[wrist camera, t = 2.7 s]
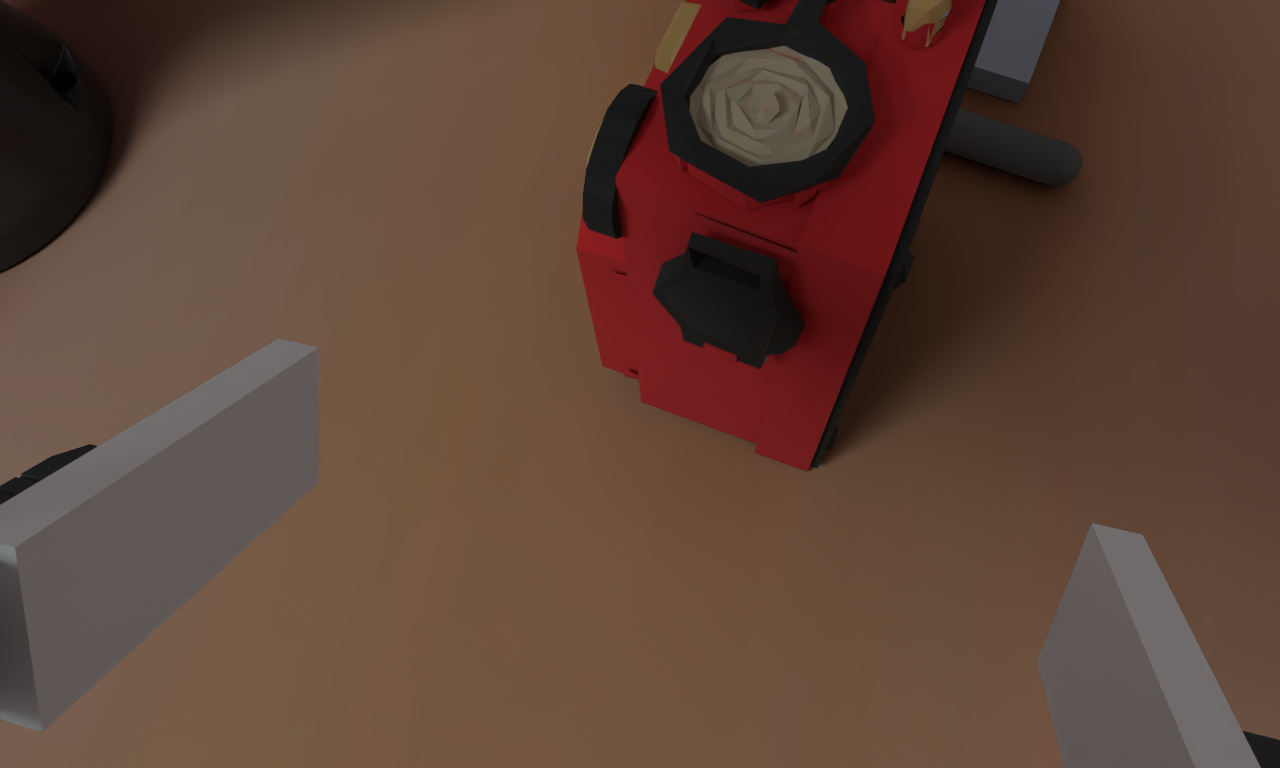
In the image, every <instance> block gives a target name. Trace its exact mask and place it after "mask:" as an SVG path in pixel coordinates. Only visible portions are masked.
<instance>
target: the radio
mask: <svg viewBox="0 0 1280 768" xmlns="http://www.w3.org/2000/svg"><path fill="white" fill-rule="evenodd" d="M997 2H998V0H687V1H686V2H681V4H680V6H679V8H678V10H677V12H676V14H675V16H674V17H673V19H672V21H671V23H670V25H669V27H668V29H667V31H666V33H665V35H664V37H663V39H662V41H661V43H660V45H659V47H658V48H657V50H656V52H655V65H654V67H653V69H652V71H651V73H650V75H649V77H648V79H647V81H646V83H645V85H644V87H643V86H640V85H634V84H629V85H628V86H626V87H625V88H624V89H622V90H621V91H620V92H619V93H618V95H617V96H616V98H615V99H614V100H613V102H612V103H611V105H610V106H609V108H608V109H607V111H606V114H605V116H604V118H603V119H602V121H601V123H600V126H599V128H598V131H597V133H596V136H595V138H594V141H593V143H592V146H591V148H590V151H589V153H588V156H587V168H586V176H585V184H584V191H583V212H582V218H581V224H580V230H579V235H578V241H577V247H576V250H577V254H578V259H579V263H580V267H581V272H582V276H583V281H584V285H585V290H586V294H587V299H588V303H589V308H590V312H591V317H592V321H593V325H594V330H595V334H596V339H597V343H598V348H599V352H600V357H601V361H602V366H604V367H607V368H610V369H613V370H616V371H618V372H621V373H624V374H625V376H626V377H631V378H635V379H639V383H640V392H641V400H642V402H643V403H646V404H648V405H651V406H654V407H657V408H659V409H662V410H665V411H668V412H670V413H673V414H676V415H679V416H681V417H684V418H687V419H690V420H693V421H695V422H698V423H701V424H704V425H706V426H709V427H712V428H715V429H717V430H720V431H723V432H726V433H728V434H731V435H734V436H737V437H740V438H742V439H745V440H748V441H751V442H753V443H756V444H757V445H756V450H755V453H757V454H760V455H763V456H766V457H768V458H771V459H774V460H777V461H780V462H782V463H785V464H788V465H791V466H794V467H796V468H799V469H802V470H805V471H808V470H809V467H810V466H813V467H816V468H818V466H819V463H820V461H821V459H822V456H823V454H824V452H825V451H827V450H829V449H832V447H833V445H834V442H835V439H836V436H837V433H838V429H837V427H836V423H837V421H838V419H839V416H840V414H841V412H842V409H843V407H844V404H845V402H846V400H847V397H848V395H849V393H850V390H851V388H852V386H853V383H854V381H855V378H856V376H857V374H858V371H859V369H860V367H861V364H862V362H863V360H864V357H865V355H866V353H867V350H868V348H869V345H870V343H871V341H872V338H873V336H874V334H875V331H876V329H877V327H878V324H879V322H880V319H881V317H882V315H883V312H884V310H885V308H886V305H887V303H888V301H889V298H890V296H891V294H892V291H893V290H894V289H895V288H897V287H898V286H900V285H901V284H902V283H904V282H905V281H906V278H907V275H908V272H909V270H910V267H911V264H912V261H913V258H914V256H913V254H912V253H911V252H910V251H909V247H910V244H911V241H912V238H913V235H914V233H915V230H916V227H917V224H918V222H919V219H920V216H921V213H922V210H923V208H924V205H925V202H926V199H927V197H928V194H929V191H930V188H931V185H932V183H933V180H934V177H935V174H936V172H937V169H938V166H939V163H940V160H941V158H942V155H943V152H944V149H945V146H946V144H947V141H948V138H949V135H950V133H951V130H952V127H953V124H954V121H955V119H956V116H957V113H958V110H959V108H960V105H961V102H962V99H963V96H964V94H965V91H966V88H967V85H968V82H969V80H970V77H971V74H972V71H973V69H974V66H975V63H976V60H977V57H978V55H979V52H980V49H981V46H982V44H983V41H984V38H985V35H986V32H987V30H988V27H989V24H990V21H991V18H992V16H993V13H994V10H995V7H996V5H997Z"/></svg>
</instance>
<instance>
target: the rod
mask: <svg viewBox="0 0 1280 768" xmlns="http://www.w3.org/2000/svg"><path fill="white" fill-rule="evenodd" d="M944 151H946V152H949V153H952V154H955V155H958V156H961V157H964V158H967V159H970V160H973V161H976V162H979V163H983V164H986V165H989V166H992V167H995V168H998V169H1001V170H1004V171H1007V172H1010V173H1013V174H1016V175H1019V176H1022V177H1025V178H1028V179H1031V180H1034V181H1037V182H1041V183H1044V184H1047V185H1050V186H1062V185H1065V184H1067V183H1069V182H1071V181H1072V180H1073V179H1075V177H1076V176H1077V175H1078V173H1079V172H1080V169H1081V164H1082V160H1081V155H1080V153H1079V151H1078V150H1077V149H1076V148H1075V147H1074V146H1073V145H1071V144H1069V143H1066V142H1063V141H1060V140H1057V139H1053V138H1050V137H1047V136H1044V135H1041V134H1038V133H1034V132H1031V131H1028V130H1025V129H1022V128H1019V127H1016V126H1012V125H1009V124H1006V123H1003V122H1000V121H997V120H994V119H990V118H987V117H984V116H981V115H978V114H975V113H972V112H968V111H965V110H962V109H959V110H958V113H957V116H956V119H955V121H954V124H953V127H952V130H951V133H950V135H949V138H948V141H947V144H946V146H945V149H944Z"/></svg>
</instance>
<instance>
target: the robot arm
mask: <svg viewBox="0 0 1280 768" xmlns="http://www.w3.org/2000/svg"><path fill="white" fill-rule="evenodd" d="M111 139H112V116H111V110H110V105H109V102H108V98H107V96H106V93H105V91H104V89H103V87H102V85H101V83H100V82H99V80H98V79H97V77H96V76H95V75H94V74H93V72H92V71H91V70H90V69H89V68H88V67H87V65H86V64H85V63H84V62H83V61H82V60H81V58H80V57H79V56H78V55H77V54H76V53H75V52H74V50H73V49H72V48H71V47H70V46H69V45H68V44H67V43H66V42H65V41H64V40H63V39H62V38H61V37H59V36H58V35H57V34H56V33H54V32H53V31H52V30H50V29H49V28H47V27H46V26H44V25H43V24H41V23H39V22H38V21H36V20H34V19H33V18H31V17H29V16H27V15H26V14H24V13H22V12H21V11H19V10H17V9H16V8H14V7H12V6H10V5H9V4H7V3H5V2H4V1H2V0H0V271H2V270H4V269H6V268H8V267H10V266H12V265H14V264H16V263H17V262H19V261H21V260H22V259H24V258H26V257H27V256H29V255H31V254H32V253H33V252H35V251H36V250H38V249H39V248H41V247H42V246H43V245H44V244H46V243H47V242H48V241H50V240H51V239H52V238H53V237H54V236H55V235H56V234H58V233H59V232H60V231H61V230H62V229H63V228H64V227H65V226H66V225H67V224H68V223H69V222H70V221H71V220H72V218H73V217H74V216H75V215H76V214H77V213H78V211H79V210H80V209H81V208H82V206H83V205H84V204H85V202H86V201H87V199H88V198H89V196H90V195H91V193H92V191H93V190H94V188H95V186H96V184H97V183H98V181H99V179H100V177H101V174H102V172H103V170H104V167H105V164H106V161H107V158H108V154H109V150H110V145H111ZM317 483H318V347H314V346H309V345H305V344H301V343H296V342H292V341H287V340H283V339H279V338H278V339H277V340H275V341H273V342H272V343H270V344H268V345H267V346H265V347H263V348H262V349H260V350H258V351H257V352H255V353H253V354H252V355H250V356H248V357H247V358H245V359H243V360H242V361H240V362H238V363H236V364H235V365H233V366H231V367H230V368H228V369H226V370H225V371H223V372H221V373H220V374H218V375H216V376H215V377H213V378H211V379H210V380H208V381H206V382H205V383H203V384H201V385H200V386H198V387H196V388H195V389H193V390H191V391H190V392H188V393H186V394H185V395H183V396H181V397H180V398H178V399H176V400H175V401H173V402H171V403H170V404H168V405H166V406H165V407H163V408H161V409H160V410H158V411H156V412H155V413H153V414H151V415H150V416H148V417H146V418H145V419H143V420H141V421H140V422H138V423H136V424H135V425H133V426H131V427H130V428H128V429H126V430H125V431H123V432H121V433H120V434H118V435H116V436H115V437H113V438H111V439H110V440H108V441H106V442H105V443H103V444H101V445H100V446H95V445H91V444H89V445H86V446H83V447H80V448H77V449H73V450H70V451H67V452H64V453H61V454H58V455H54V456H51V457H50V458H48V459H46V460H44V461H43V462H41V463H39V464H37V465H36V466H34V467H32V468H31V469H29V470H27V471H25V472H24V473H22V474H21V477H20V478H17V477H15V478H13V479H11V480H10V481H8V482H6V483H5V484H3V485H1V486H0V720H3V721H7V722H10V723H13V724H17V725H20V726H23V727H27V728H30V729H33V730H37V731H40V732H43V731H44V730H45V729H46V728H48V727H49V726H50V725H51V724H52V723H53V722H54V721H55V720H56V719H57V718H59V717H60V716H61V715H62V714H63V713H64V712H65V711H66V710H67V709H69V708H70V707H71V706H72V705H73V704H74V703H75V702H76V701H77V700H78V699H80V698H81V697H82V696H83V695H84V694H85V693H86V692H87V691H88V690H89V689H91V688H92V687H93V686H94V685H95V684H96V683H97V682H98V681H99V680H101V679H102V678H103V677H104V676H105V675H106V674H107V673H108V672H109V671H110V670H112V669H113V668H114V667H115V666H116V665H117V664H118V663H119V662H120V661H122V660H123V659H124V658H125V657H126V656H127V655H128V654H129V653H130V652H131V651H133V650H134V649H135V648H136V647H137V646H138V645H139V644H140V643H141V642H142V641H144V640H145V639H146V638H147V637H148V636H149V635H150V634H151V633H152V632H154V631H155V630H156V629H157V628H158V627H159V626H160V625H161V624H162V623H163V622H165V621H166V620H167V619H168V618H169V617H170V616H171V615H172V614H173V613H175V612H176V611H177V610H178V609H179V608H180V607H181V606H182V605H183V604H184V603H186V602H187V601H188V600H189V599H190V598H191V597H192V596H193V595H194V594H195V593H197V592H198V591H199V590H200V589H201V588H202V587H203V586H204V585H205V584H207V583H208V582H209V581H210V580H211V579H212V578H213V577H214V576H215V575H216V574H218V573H219V572H220V571H221V570H222V569H223V568H224V567H225V566H226V565H228V564H229V563H230V562H231V561H232V560H233V559H234V558H235V557H236V556H237V555H239V554H240V553H241V552H242V551H243V550H244V549H245V548H246V547H247V546H248V545H250V544H251V543H252V542H253V541H254V540H255V539H256V538H257V537H258V536H260V535H261V534H262V533H263V532H264V531H265V530H266V529H267V528H268V527H269V526H271V525H272V524H273V523H274V522H275V521H276V520H277V519H278V518H279V517H281V516H282V515H283V514H284V513H285V512H286V511H287V510H288V509H289V508H290V507H292V506H293V505H294V504H295V503H296V502H297V501H298V500H299V499H300V498H302V497H303V496H304V495H305V494H306V493H307V492H308V491H309V490H310V489H311V488H313V487H314V486H315V485H316V484H317ZM1037 664H1038V668H1039V672H1040V675H1041V679H1042V683H1043V687H1044V691H1045V695H1046V699H1047V703H1048V707H1049V711H1050V715H1051V719H1052V723H1053V726H1054V730H1055V734H1056V738H1057V742H1058V746H1059V750H1060V754H1061V758H1062V762H1063V766H1064V768H1280V741H1279V740H1277V739H1273V738H1269V737H1265V736H1261V735H1257V734H1253V733H1249V732H1245V731H1242V730H1241V728H1240V726H1239V724H1238V722H1237V720H1236V718H1235V716H1234V714H1233V712H1232V710H1231V708H1230V706H1229V704H1228V702H1227V700H1226V698H1225V696H1224V694H1223V692H1222V690H1221V688H1220V686H1219V684H1218V682H1217V680H1216V678H1215V676H1214V674H1213V672H1212V671H1211V669H1210V667H1209V665H1208V663H1207V661H1206V659H1205V657H1204V655H1203V653H1202V651H1201V649H1200V647H1199V645H1198V643H1197V641H1196V639H1195V637H1194V635H1193V633H1192V631H1191V629H1190V627H1189V625H1188V623H1187V621H1186V619H1185V617H1184V615H1183V613H1182V611H1181V609H1180V607H1179V605H1178V603H1177V601H1176V599H1175V597H1174V596H1173V594H1172V592H1171V590H1170V588H1169V586H1168V584H1167V582H1166V580H1165V578H1164V576H1163V574H1162V572H1161V570H1160V568H1159V566H1158V564H1157V562H1156V560H1155V558H1154V556H1153V554H1152V552H1151V550H1150V548H1149V546H1148V544H1147V542H1146V540H1145V538H1144V536H1143V535H1142V534H1138V533H1133V532H1129V531H1125V530H1120V529H1116V528H1111V527H1107V526H1103V525H1098V524H1094V523H1092V524H1091V526H1090V529H1089V531H1088V534H1087V536H1086V539H1085V541H1084V544H1083V546H1082V549H1081V551H1080V554H1079V556H1078V559H1077V561H1076V564H1075V567H1074V569H1073V572H1072V574H1071V577H1070V579H1069V582H1068V584H1067V587H1066V589H1065V592H1064V594H1063V597H1062V599H1061V602H1060V604H1059V607H1058V610H1057V612H1056V615H1055V617H1054V620H1053V622H1052V625H1051V627H1050V630H1049V632H1048V635H1047V637H1046V640H1045V642H1044V645H1043V648H1042V650H1041V653H1040V655H1039V658H1038V660H1037Z"/></svg>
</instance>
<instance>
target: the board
mask: <svg viewBox="0 0 1280 768" xmlns="http://www.w3.org/2000/svg"><path fill="white" fill-rule="evenodd" d="M1059 2H1060V0H998V2H997V5H996V7H995V10H994V13H993V16H992V18H991V21H990V24H989V27H988V30H987V32H986V35H985V38H984V41H983V44H982V46H981V49H980V52H979V55H978V57H977V60H976V63H975V66H974V69H973V71H972V74H971V77H970V80H969V82H968V85H967V88H970V89H974V90H977V91H980V92H983V93H986V94H990V95H993V96H996V97H999V98H1002V99H1006V100H1009V101H1012V102H1015V103H1018V104H1019V103H1020V101H1021V99H1022V97H1023V95H1024V93H1025V91H1026V89H1027V87H1028V85H1029V83H1030V80H1031V77H1032V75H1033V72H1034V69H1035V66H1036V64H1037V61H1038V58H1039V56H1040V53H1041V50H1042V48H1043V45H1044V42H1045V40H1046V37H1047V34H1048V32H1049V29H1050V26H1051V24H1052V21H1053V18H1054V16H1055V13H1056V10H1057V8H1058V5H1059Z"/></svg>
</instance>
